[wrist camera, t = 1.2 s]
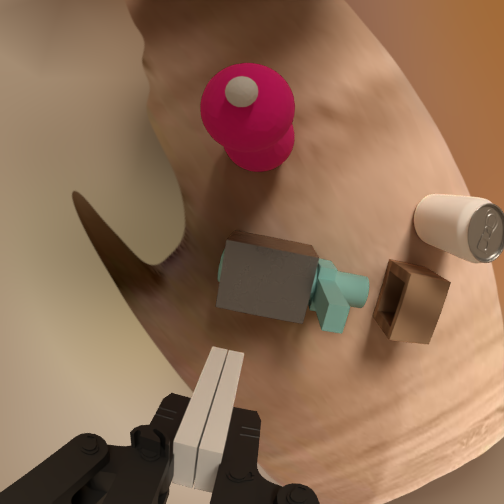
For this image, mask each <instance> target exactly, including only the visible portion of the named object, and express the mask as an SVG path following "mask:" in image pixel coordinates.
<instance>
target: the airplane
mask: <svg viewBox="0 0 504 504" xmlns="http://www.w3.org/2000/svg"><path fill="white" fill-rule="evenodd" d="M224 252H225V249H224V251H223V253H222V256H221V260H220V265H219V270H218V281H219V282H220V276H221V270H222V264H223V258H224ZM368 293H369V280H368V277H366V276H361V275H355V274H350V273H345V272H340V271H338V270H337V268H336V267H335V266H334V264H333V263H332V261H329V260H324V259H319V261H318V265H317V270H316V274H315V278H314V282H313V286H312V290H311V294H310V298H309V302H308V305H309V309H310V310H311V311H316V313H317V316H318V320H319V323H320V327H321V330H323V331H329V332H335V333H342V332H343V329H344V326H345V323H346V319H347V316H348V313H349V310H350V307H356V308H362V307H363V306H364V305H365V303H366V300H367V297H368Z"/></svg>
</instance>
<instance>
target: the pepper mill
mask: <svg viewBox="0 0 504 504" xmlns="http://www.w3.org/2000/svg"><path fill="white" fill-rule="evenodd" d="M294 112H295V103H294V97H293V94H292V91H291V89H290V87H289V85H288V83H287V82H286V81H285V80H284V78H283V77H282V76H281V75H279V74H278V73H277V72H276V71H274V70H272V69H270V68H268V67H266V66H263V65H260V64H254V63H241V64H235V65H232V66H229V67H227V68H225V69H223V70H222V71H220V72H218V73H217V74H216V75H215V76H214V77H213V78H212V79H211V80H210V81H209V83H208V84H207V86H206V88H205V90H204V92H203V95H202V99H201V117H202V121H203V124H204V126H205V128H206V130H207V131H208V133H209V134H210V135H211V137H212V138H213V139H214V140H215V141H217V142H218V143H219V144H221V145H222V146H224V149H225V151H226V153H227V155H228V156H229V157H230V159H231V160H232V161H233V162H234V163H235V164H237V165H238V166H239V167H241V168H243V169H246V170H249V171H254V172H263V171H268V170H271V169H274V168H276V167H277V166H279V165H281V164H282V163H283V162H284V161H285V160H286V159H287V158H288V156H289V155H290V153H291V151H292V149H293V145H294V129H293V126H292V122H293V118H294Z"/></svg>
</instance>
